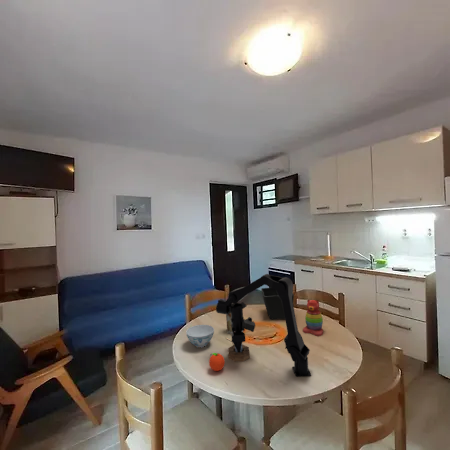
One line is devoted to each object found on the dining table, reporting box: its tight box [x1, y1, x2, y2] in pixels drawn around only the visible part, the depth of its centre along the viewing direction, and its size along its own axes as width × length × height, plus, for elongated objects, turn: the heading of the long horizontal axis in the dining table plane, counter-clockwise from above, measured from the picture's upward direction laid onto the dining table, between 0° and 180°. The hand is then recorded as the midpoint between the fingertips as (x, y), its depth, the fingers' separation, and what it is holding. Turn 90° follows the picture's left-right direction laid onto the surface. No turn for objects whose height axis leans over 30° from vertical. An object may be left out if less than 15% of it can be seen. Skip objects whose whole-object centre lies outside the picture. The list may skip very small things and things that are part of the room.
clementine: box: [208, 352, 226, 372], centre depth 115 cm, size 8×7×7 cm
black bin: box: [261, 287, 295, 320], centre depth 172 cm, size 19×19×17 cm
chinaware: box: [185, 324, 215, 348], centre depth 138 cm, size 15×15×8 cm
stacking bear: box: [302, 299, 324, 337], centre depth 147 cm, size 11×10×18 cm
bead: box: [227, 343, 251, 363], centre depth 125 cm, size 10×10×3 cm
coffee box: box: [225, 303, 244, 335], centre depth 152 cm, size 9×6×16 cm
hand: (238, 347), depth 125 cm, fingers open, 8 cm apart
